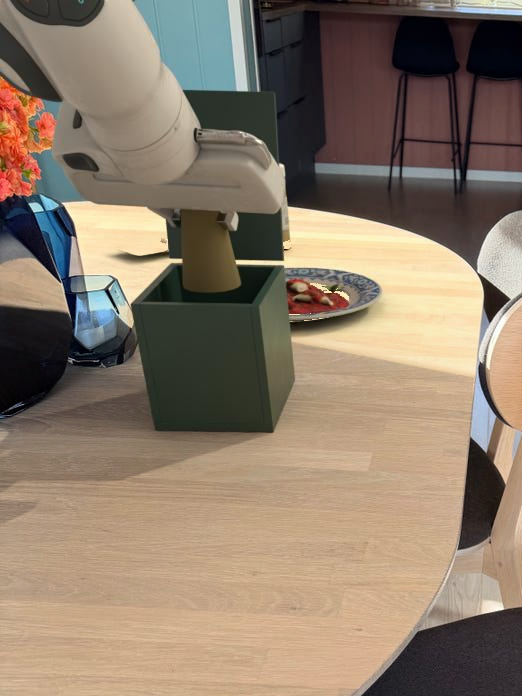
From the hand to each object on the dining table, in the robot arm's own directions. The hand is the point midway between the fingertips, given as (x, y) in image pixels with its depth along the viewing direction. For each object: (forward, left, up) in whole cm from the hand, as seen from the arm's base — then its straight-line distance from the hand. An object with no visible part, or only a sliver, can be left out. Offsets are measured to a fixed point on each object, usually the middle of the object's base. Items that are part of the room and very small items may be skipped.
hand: (205, 223), depth 96 cm
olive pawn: (0, -1, -6) cm, 6 cm away
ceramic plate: (+2, +37, -19) cm, 42 cm away
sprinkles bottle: (-6, +71, -19) cm, 74 cm away
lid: (0, +9, +3) cm, 10 cm away
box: (0, -1, -19) cm, 19 cm away
